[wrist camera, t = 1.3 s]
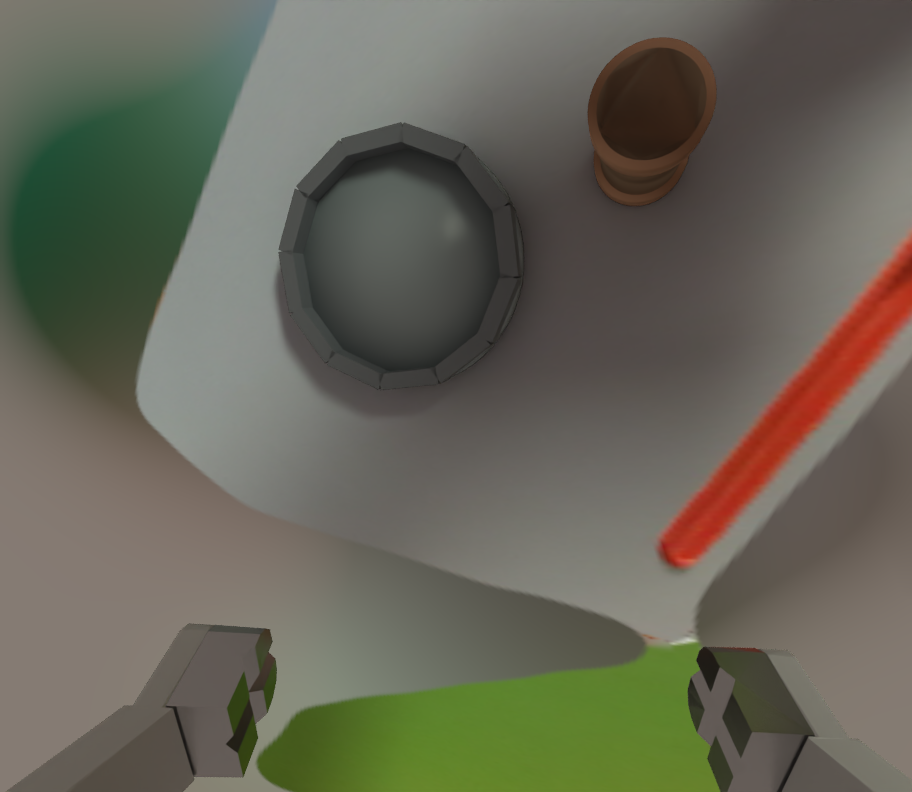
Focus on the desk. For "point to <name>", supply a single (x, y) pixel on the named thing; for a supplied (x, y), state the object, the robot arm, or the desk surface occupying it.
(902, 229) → the desk surface
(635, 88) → the brown flared cylinder
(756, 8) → the desk surface
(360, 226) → the round dish
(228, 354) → the desk surface
